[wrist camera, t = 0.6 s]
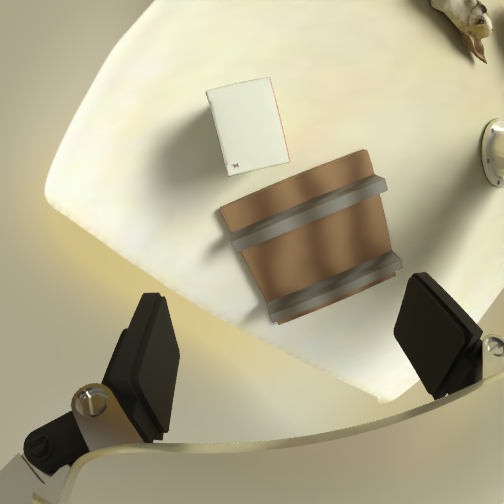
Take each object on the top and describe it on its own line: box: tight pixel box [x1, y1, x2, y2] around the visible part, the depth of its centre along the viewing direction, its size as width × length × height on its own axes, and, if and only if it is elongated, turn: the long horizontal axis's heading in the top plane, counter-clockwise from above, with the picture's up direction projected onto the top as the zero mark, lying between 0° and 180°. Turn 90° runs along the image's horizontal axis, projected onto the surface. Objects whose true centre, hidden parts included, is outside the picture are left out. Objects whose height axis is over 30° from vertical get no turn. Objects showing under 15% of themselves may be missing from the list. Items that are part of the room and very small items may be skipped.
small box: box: [206, 77, 290, 177], centre depth 26 cm, size 8×6×10 cm
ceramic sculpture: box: [431, 0, 493, 64], centre depth 18 cm, size 11×9×15 cm
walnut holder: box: [220, 149, 402, 325], centre depth 36 cm, size 20×20×4 cm
